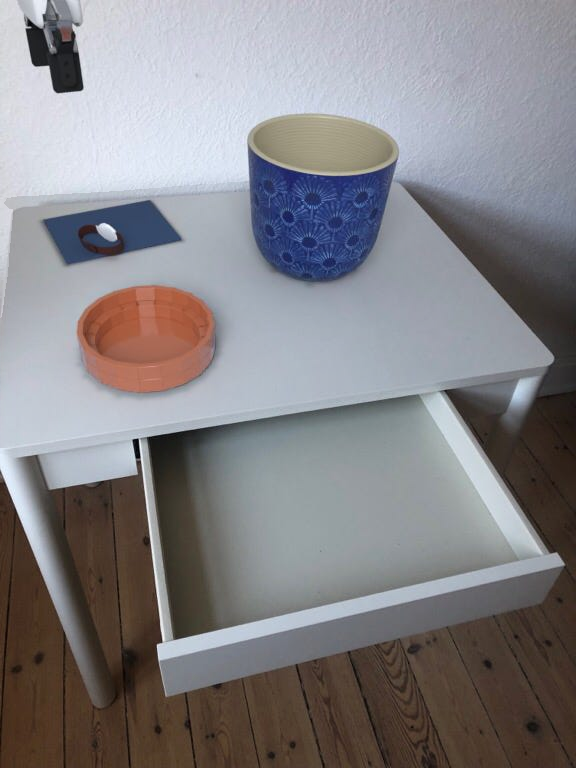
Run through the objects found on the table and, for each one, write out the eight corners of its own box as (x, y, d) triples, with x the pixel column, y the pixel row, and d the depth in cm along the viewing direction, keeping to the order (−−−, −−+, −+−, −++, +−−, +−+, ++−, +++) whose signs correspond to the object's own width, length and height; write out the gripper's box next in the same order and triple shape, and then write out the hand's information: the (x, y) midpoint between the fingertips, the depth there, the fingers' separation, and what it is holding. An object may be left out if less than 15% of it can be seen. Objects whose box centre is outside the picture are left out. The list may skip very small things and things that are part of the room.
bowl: (106, 412, 73) (100, 383, 70) (67, 331, 83) (61, 303, 80) (235, 371, 79) (236, 343, 76) (185, 301, 89) (183, 274, 86)
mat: (67, 264, 94) (66, 262, 94) (43, 221, 103) (43, 219, 103) (180, 240, 101) (180, 237, 101) (150, 202, 110) (149, 199, 110)
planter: (290, 216, 109) (298, 102, 96) (399, 256, 102) (423, 137, 89) (218, 268, 96) (216, 143, 83) (336, 317, 89) (354, 189, 76)
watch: (132, 247, 98) (129, 226, 96) (113, 261, 95) (110, 240, 92) (91, 234, 100) (88, 213, 98) (71, 247, 97) (67, 226, 94)
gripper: (91, -98, 57) (113, 99, 69) (43, -120, 68) (69, 54, 80) (4, -100, 54) (42, 106, 66) (-32, -122, 65) (6, 58, 77)
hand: (57, 77), depth 73 cm, fingers open, 9 cm apart
